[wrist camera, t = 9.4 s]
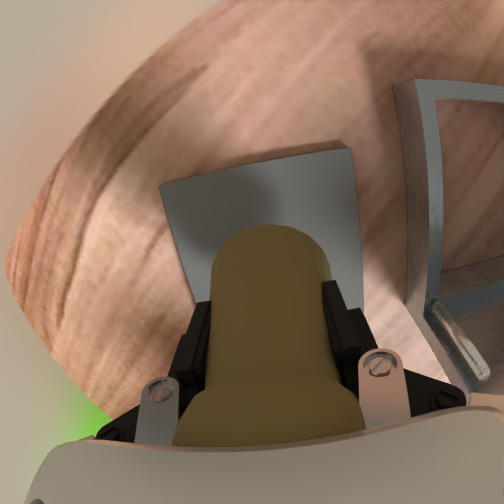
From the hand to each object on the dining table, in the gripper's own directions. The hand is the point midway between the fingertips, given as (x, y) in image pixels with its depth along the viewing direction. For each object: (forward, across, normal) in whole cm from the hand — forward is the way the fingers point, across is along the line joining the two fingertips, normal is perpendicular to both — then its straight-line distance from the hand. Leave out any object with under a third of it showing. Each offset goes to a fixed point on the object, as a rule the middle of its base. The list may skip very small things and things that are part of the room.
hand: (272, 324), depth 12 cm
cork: (+3, 0, 0) cm, 3 cm away
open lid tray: (+7, -16, -2) cm, 18 cm away
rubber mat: (+7, 0, 0) cm, 7 cm away
